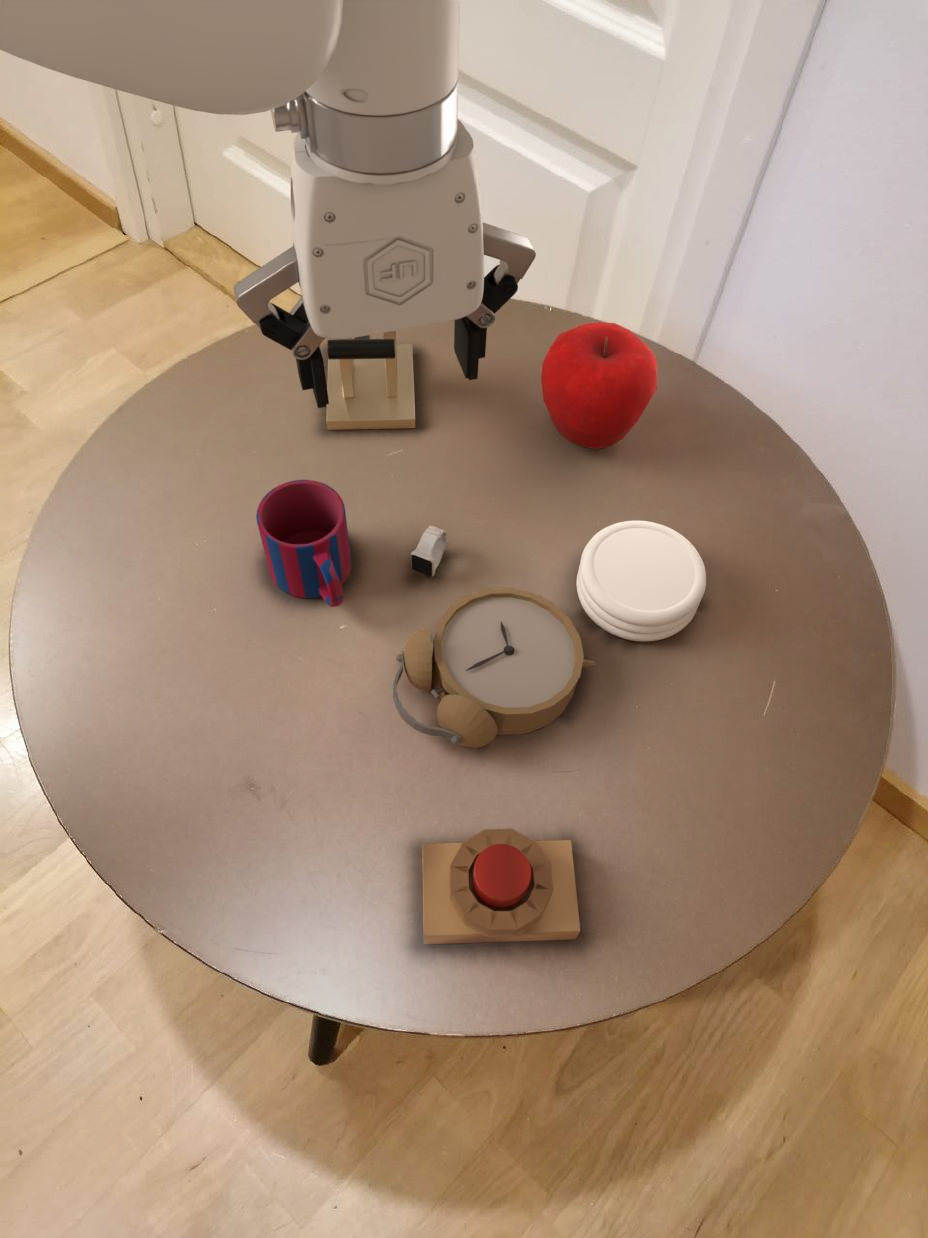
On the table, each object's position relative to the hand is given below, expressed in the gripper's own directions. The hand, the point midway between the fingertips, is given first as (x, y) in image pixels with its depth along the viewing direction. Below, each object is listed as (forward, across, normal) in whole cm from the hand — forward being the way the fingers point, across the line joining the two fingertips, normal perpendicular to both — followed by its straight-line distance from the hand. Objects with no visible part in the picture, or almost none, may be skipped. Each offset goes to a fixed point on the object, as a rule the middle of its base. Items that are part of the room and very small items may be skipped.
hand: (393, 378), depth 60 cm
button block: (+21, 0, -28) cm, 35 cm away
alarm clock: (+21, +4, -12) cm, 24 cm away
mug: (+21, -7, 0) cm, 22 cm away
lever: (+9, +1, +15) cm, 18 cm away
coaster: (+21, +18, -7) cm, 28 cm away
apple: (+21, +20, +10) cm, 31 cm away
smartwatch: (+21, +2, 0) cm, 21 cm away
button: (+17, 0, -28) cm, 33 cm away
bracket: (+21, +2, +21) cm, 29 cm away
